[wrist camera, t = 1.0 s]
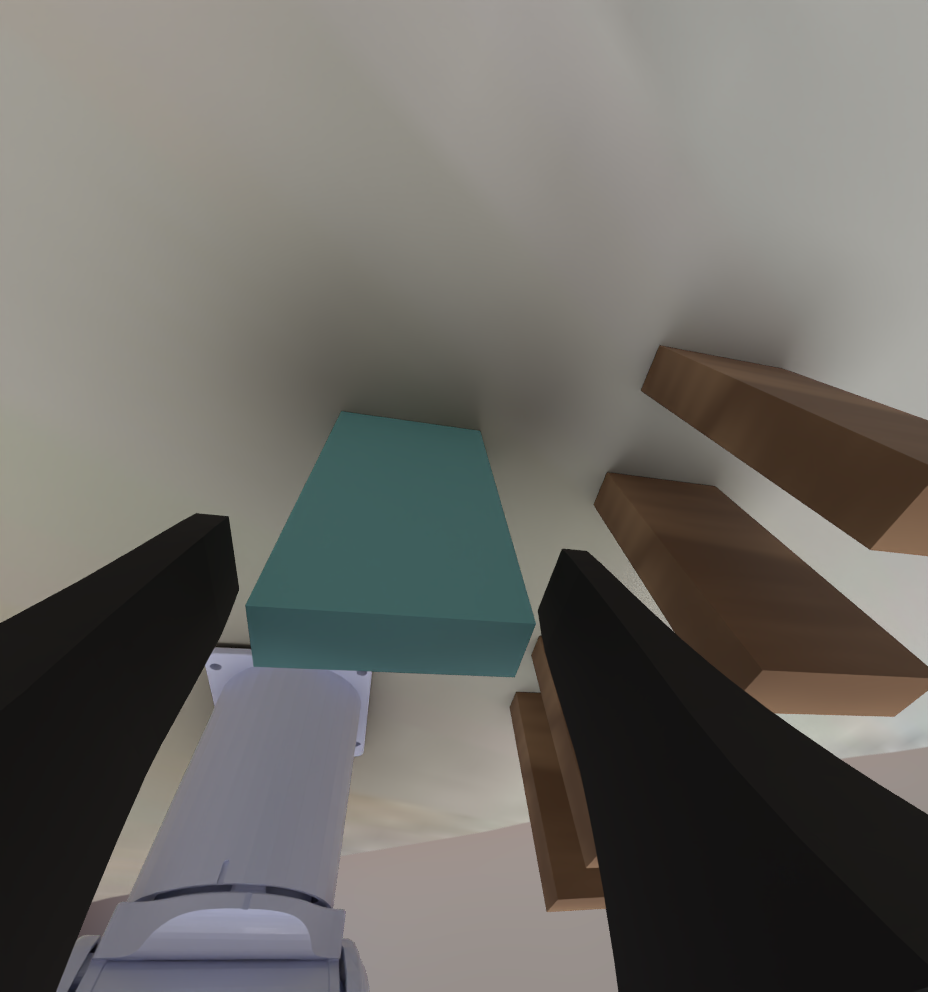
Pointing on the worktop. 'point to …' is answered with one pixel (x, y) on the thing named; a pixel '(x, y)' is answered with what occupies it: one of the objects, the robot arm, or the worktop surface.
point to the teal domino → (394, 560)
